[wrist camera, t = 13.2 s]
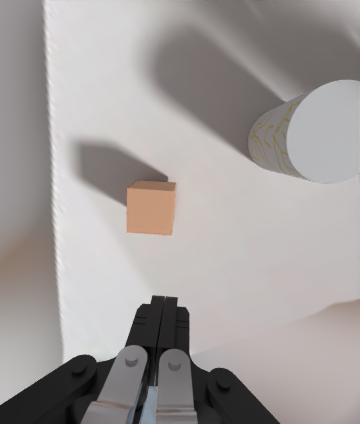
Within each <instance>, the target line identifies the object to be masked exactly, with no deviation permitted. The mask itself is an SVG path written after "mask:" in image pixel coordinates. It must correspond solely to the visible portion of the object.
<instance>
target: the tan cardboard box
mask: <svg viewBox="0 0 360 424" xmlns="http://www.w3.org/2000/svg"><path fill="white" fill-rule="evenodd" d="M175 197H176V183H173V182H158V181H144V180H138V181H137V182H135V183H134V184H132V185H131V186H129V187H128V188H127V232H129V233H144V234H158V235H172V229H173V223H174V213H175Z"/></svg>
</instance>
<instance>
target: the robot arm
mask: <svg viewBox="0 0 360 424" xmlns="http://www.w3.org/2000/svg"><path fill="white" fill-rule="evenodd" d="M177 300H178V297H167V296H166V298H165V296H155V295H153V296H152V300H151V304H142V305H141V306H140V307H139V308H138V309H137V312H136V315H135V318H134V321H133V324H132V327H131V330H130V333H129V336H128V339H127V342H126V345H125V347H124V348H123V349H122V350H121V351H120V352H119V353H118V355H117V356H116V357H115V358H113V359H110V360H107V361H102V362H98V363H97V362H96V360H95V358H94V357H92V356H90V355H79V356H76V357H74V358H72V359H71V360H69V361H68V362H66V363H65V364H63V365H62V366H60V367H59V368H57V369H55V370H54V371H52V372H51V373H49V374H48V375H46V376H45V377H43V378H42V379H40V380H38V381H37V382H35V383H34V384H32V385H31V386H29V387H28V388H26V389H24V390H23V391H21V392H20V393H18V394H17V395H15V396H14V397H12V398H11V399H9V400H8V401H6V402H4V403H3V404H1V405H0V424H141V421H142V417H143V413H144V409H145V404H146V399H147V394H148V389H149V386H154V382H155V376H156V382H155V386H158V391H157V409H156V422H155V424H280V423H279V422H278V421H277V420H276V419H275V418H274V416H273V415H272V414H271V413H270V412H269V411H268V410H267V409H266V408H265V407H264V406H263V405H262V404H261V402H260V401H259V400H258V399H257V398H256V397H255V396H254V395H253V394H252V393H251V392H250V391H249V390H248V389H247V388H246V386H245V385H244V384H243V383H242V382H241V381H240V380H239V379H238V378H237V377H236V376H235V375H234V374H233V373H232V372H231V371H229V370H227V369H224V368H215V369H213V370H211V371H210V372H207V371H205V370H203V369H201V368H199V367H197V366H196V365H195V364H194V363H193V361H192V360H191V358H190V354H189V312H188V310H187V309H186V307H177Z"/></svg>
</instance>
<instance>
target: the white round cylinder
mask: <svg viewBox="0 0 360 424" xmlns="http://www.w3.org/2000/svg"><path fill="white" fill-rule="evenodd" d="M248 150H249V154H250V156H251V158H252V159H253V161H254V162H255V163H256V164H257V165H258V166H260V167H261V168H263V169H266V170H269V171H273V172H277V173H281V174H285V175H289V176H293V177H297V178H301V179H305V180H309V181H313V182H318V183H324V184H332V183H338V182H342V181H345V180H348V179H350V178H352V177H354V176H356V175H358V174H359V173H360V81H356V80H337V81H333V82H330V83H327V84H325V85H322V86H320V87H318V88H316V89H314V90H312V91H310V92H307V93H305V94H303V95H301V96H299V97H297V98H295V99H292V100H290V101H288V102H286V103H284V104H282V105H280V106H278V107H275V108H273V109H271V110H269V111H267V112H265V113H264V114H262V115H261V116H260V117H259V118H258V119H257V120H256V121H255V122H254V124H253V126H252V127H251V130H250V132H249V136H248Z"/></svg>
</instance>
